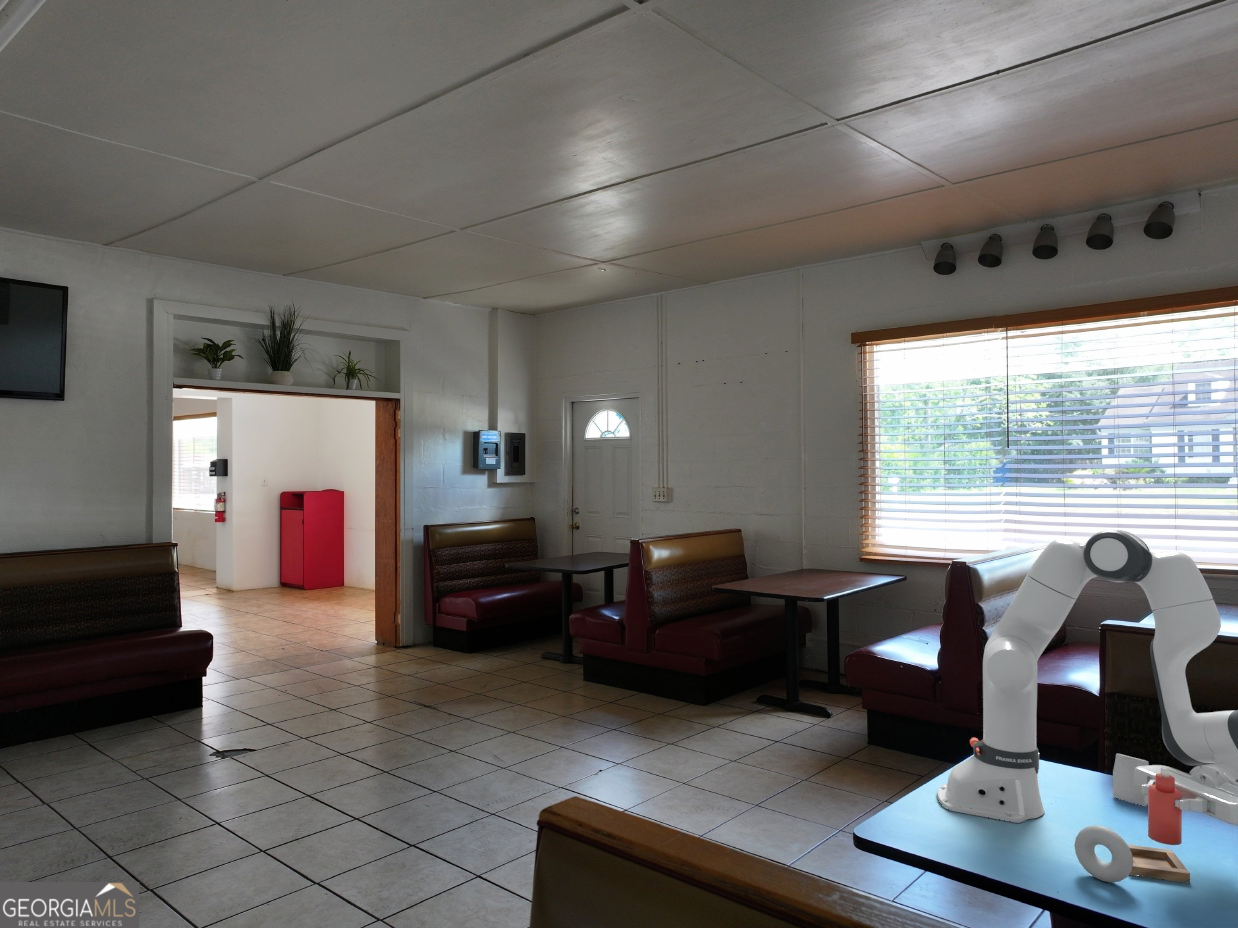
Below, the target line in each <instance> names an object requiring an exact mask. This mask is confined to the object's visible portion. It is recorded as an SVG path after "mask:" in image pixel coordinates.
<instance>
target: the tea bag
mask: <svg viewBox="0 0 1238 928" xmlns="http://www.w3.org/2000/svg"><path fill="white" fill-rule="evenodd" d="M1148 765H1150V764H1149V761H1148V760H1145V759H1141V758H1136V757H1132V756H1129V755H1125V754H1121V753H1116V754H1115V760H1114V765H1113V769H1112V798H1113V797H1116V798H1120V799H1122V800H1121V801H1123V800H1126V801H1128V802H1127V803H1130V802H1133V803H1135V804H1134V805H1137V804H1139V805H1138V806H1140V805H1142V806H1141V807H1143V806H1145V807H1147V806H1148V805H1147V804H1148V796H1147V795H1144V794H1142V788H1141V787H1139V786H1137V785H1136V784H1135V779H1134V773H1135V768H1136V767H1138V766H1148ZM1116 798H1115V799H1116ZM1120 799H1119V800H1120ZM1126 801H1125V802H1126ZM1133 803H1132V804H1133ZM1146 805H1147V806H1146Z"/></svg>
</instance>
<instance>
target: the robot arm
mask: <svg viewBox="0 0 1238 928" xmlns="http://www.w3.org/2000/svg"><path fill="white" fill-rule="evenodd" d="M1097 577H1098V578H1099V579H1102V580H1105V581H1108V582H1111V583H1112V582H1114V583H1125V582H1128V583H1136V584H1137V585H1138V586H1140V587H1141V589H1142V590H1143V592H1144V593H1145V596H1146V598H1147V601H1148V603H1149V606H1150V609H1151V611H1152V612H1151V613H1152V615H1153V619H1154V630H1155V631H1154V636H1153V638H1152V639H1151V642H1150V644H1149V645H1150V647H1149V649H1150V651H1149V652H1150V661H1151V666H1152V672H1153V677H1154V682H1155V688H1156V692H1157V698H1158V703H1159V708H1160V713H1161V735H1162V736H1161V737H1162V741H1163V744H1164V745H1165V748H1166V749H1167V751H1168V752H1169V753H1170V754H1171V755H1172V756H1173V757H1174V758H1175V759H1176V760H1177V761H1179V762H1181V764H1184V765H1186V766H1194V767H1193V768H1192V769H1191V770H1190V771H1189V773H1187V772H1184V771H1181V770H1179V769H1177V768H1174V767H1170V766H1166V765H1161V764H1152V765H1150V764H1149V765H1148V766H1138V767H1136V768H1135V773H1134V779H1135V784H1136V785H1137V786H1139V787H1141V788H1142V794H1144V795H1147V796H1148V787H1149V786H1150V785H1155V775H1156V774H1161V767H1166V768H1169V769H1170V775H1171V776H1173V777H1174V778H1175V789H1178V790H1180V791H1181V792H1182V797H1180V798H1176V799H1175V807H1176V808H1178V809H1180V810H1182V812H1186V811H1193V812H1198V813H1203V814H1205V815H1207V816H1210V817H1212V818H1214V819H1217V820H1219V821H1221V822H1225V823H1227V824H1229V825H1233V826H1238V709H1237V710H1220V711H1219V710H1218V711H1217V710H1216V711H1213V712H1199V713H1198V712H1196V711H1195V710H1194V709H1193V706H1192V702H1191V697H1190V692H1189V686H1188V681H1187V677H1186V676H1187V675H1186V668H1187V664H1188V663H1189V661H1190V660H1191V659H1192V658H1193V657H1194V656H1195V655H1197V654H1198V653H1200V652H1201V651H1202V650H1204V649H1206V648H1208V647H1209V646H1210V645H1211V644H1212V643H1213V642H1214V641H1215V639H1216V638H1217V637H1218V635H1219V633H1220V631H1221V628H1222V623H1221V616H1220V612H1219V610H1218V607H1217V605H1216V602H1215V600H1214V598H1213V595H1212V592H1211V591H1210V587H1209V586H1208V585H1209V584H1207V582H1206V580H1205V578H1204V576H1203V574H1202V573H1201V571H1200V569H1199V568H1198V566H1197V564H1196V563H1195V561H1194V559H1193V558H1191V557H1190V555H1187V554H1185V553H1183V552H1179V551H1164V552H1158V553H1157V552H1152V551H1150V548H1149V547H1148V545H1147V543H1146V542H1145V541H1144V540H1142V539H1141V538H1140V537H1138V536H1137V535H1135V534H1134V533H1131V532H1129V531H1126V530H1120V529H1119V530H1118V529H1117V530H1116V529H1106V530H1102V531H1099V532H1097V533H1095V534H1093V535H1091V536H1090V537H1089V539H1088V540H1087V541H1086V542H1085V544H1081V543H1078V542H1076V541H1074V540H1069V539H1064V538H1063V539H1062V538H1060V539H1056V540H1055V539H1054V540H1052V541H1051V542H1049V544H1047V545H1046V547H1045V548H1044V549H1043V551H1042V552H1041V553H1040V554H1039V556H1038V557H1037V558H1036V560H1034V563H1033V564H1032V566H1031V567H1030V569H1029V571H1027V574H1026V576H1025V578H1024V579H1023V581H1022V583H1021V584H1020V586H1019V588H1018V589H1017V592H1016V594H1015V595H1014V597H1013V599H1012V601H1011V603H1010V604H1009V606H1008V607H1007V609H1005V612H1004V614H1003V615H1002V617H1001V618H1000V620H999V622H998V623H997V624H996V626H995V628H994V630H993V631H992V633H991V635H990V636H989V638H988V640H987V642H986V644H985V646H984V651H983V658H982V699H983V700H982V702H983V703H982V705H983V706H982V708H983V710H982V712H983V713H982V714H983V715H982V717H983V718H982V720H983V722H982V723H983V725H982V727H983V729H982V731H983V734H982V735H983V737H982V739H981V740H979V739H978V738H976V737H971V739H969V744H970V746H971V747H972V748H973V755H972V756H971V757H969V758H967V759H966V760H964V761H962V762H960V763H959V764H956V765H954V767H952V769H951V770H950V772H949V775H948V778H947V783H946V784H943V785H940V786H939V787H938V789H937V791H936V792H937V793H936V798H937V801H938V800H939V801H938V803H939V802H940V803H941V804H942V805H941V804H940V803H939V804H940V805H941V806H942V807H943V806H944V807H945V809H946V810H948V809H949V810H948V811H950V812H951V811H952V812H957V813H962V814H968V815H972V816H977V817H978V816H979V817H983V818H988V817H989V818H988V819H994V820H999V819H1000V821H1004V820H1005V822H1009V821H1011V822H1010V823H1015V824H1019V823H1023V822H1025V821H1027V820H1031V819H1036V818H1040V817H1041V816H1043V815H1044V814H1045V808H1044V806H1043V805H1044V804H1043V802H1042V801H1043V800H1042V798H1041V792H1040V787H1039V780H1038V778H1039V777H1038V774H1039V770H1040V752H1039V748H1038V746H1037V714H1038V713H1037V710H1038V709H1037V708H1038V661H1039V659H1040V657H1041V655H1042V654H1043V652H1044V651H1045V649H1046V648H1047V647H1048V645H1049V644H1050V642H1051V641H1052V639H1053V638H1054V636H1055V635H1056V634H1057V633H1058V631H1059V630H1060V629H1061V627H1062V626H1063V624H1064V622H1065V620H1066V618H1067V616H1068V615H1069V613H1070V612H1071V610H1072V608H1073V606H1074V604H1075V603H1076V601H1077V599H1078V598H1079V596H1080V594H1081V592H1082V590H1083V589H1084V588H1085V586H1086V584H1087V583H1088V582H1089V581H1090V580H1092V579H1093V578H1097ZM944 807H943V808H944Z"/></svg>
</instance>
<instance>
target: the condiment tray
mask: <svg viewBox="0 0 1238 928" xmlns="http://www.w3.org/2000/svg"><path fill="white" fill-rule="evenodd" d="M1127 845H1128V846H1129V849H1130V851H1131V853H1132V858H1133V867H1132V871H1131V872H1130V874H1129V875H1128V876H1132V875H1139V876H1143V877H1142V878H1147V877H1151V878H1150V879H1154V878H1155V879H1156V880H1162V879H1166V880H1165V881H1170V880H1172V881H1171V882H1177V881H1179V883H1185V882H1188V883H1187V884H1191V873H1190V872H1189V870H1188V869H1187V868H1186V866H1185V865H1184V864H1183V862H1182V861H1181V860H1180V859H1179V857H1178V856H1177V855H1176V852H1175V851H1173V849H1168V848H1167V849H1165V848H1159V847H1151V846H1149V847H1148V846H1142V845H1134V844H1127ZM1139 876H1138V877H1139Z"/></svg>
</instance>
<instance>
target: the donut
mask: <svg viewBox="0 0 1238 928" xmlns="http://www.w3.org/2000/svg"><path fill="white" fill-rule="evenodd" d="M1098 845H1101V846H1103V847H1105V848H1107V850H1108V852H1110V854H1111V861H1109V862H1104V861H1103V860H1102V859H1100V858H1099V857H1098V855H1097V854H1096V852H1095V848H1096V846H1098ZM1128 845H1129V844H1128V843H1127V841H1125V840H1124V838H1123V837H1122V836H1121V835H1119V834H1118V833H1117V832H1116V831H1114V830H1112V829H1110V828H1109V827H1106V826H1102V825H1097V824H1095V825H1088V826H1086V827H1083V828H1082V829H1081V830H1080V831H1079V832H1078V834H1077V835H1076V837H1075V840H1074V851H1075V855H1076V858H1077V860H1078V863H1080V865H1081V866H1082V867H1083V869H1084V870H1085V871H1086V872H1087V873H1088V874H1090V875H1091V876H1092V877H1094V878H1096V879H1098V880H1100V881H1102V882H1106V883H1111V884H1112V883H1118V882H1122V881H1123V880H1126V879H1127V878H1128V876H1130V875H1129V874H1130V872H1131V871H1132V867H1133V858H1132V853H1131V851H1130V849H1129V846H1128Z"/></svg>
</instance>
